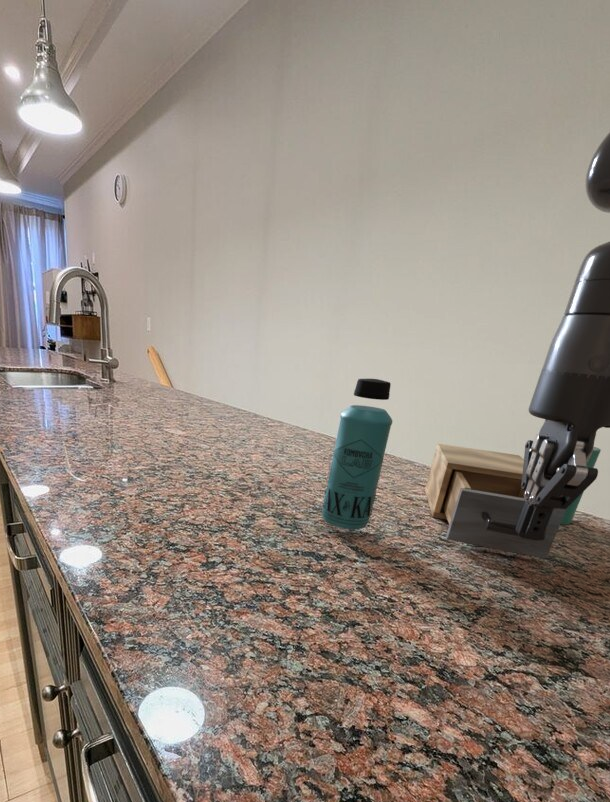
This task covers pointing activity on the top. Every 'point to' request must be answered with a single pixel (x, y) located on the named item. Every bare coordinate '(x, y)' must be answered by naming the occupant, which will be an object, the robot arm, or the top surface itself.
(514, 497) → the drawer
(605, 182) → the robot arm
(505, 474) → the cabinet
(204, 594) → the top surface
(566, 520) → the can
